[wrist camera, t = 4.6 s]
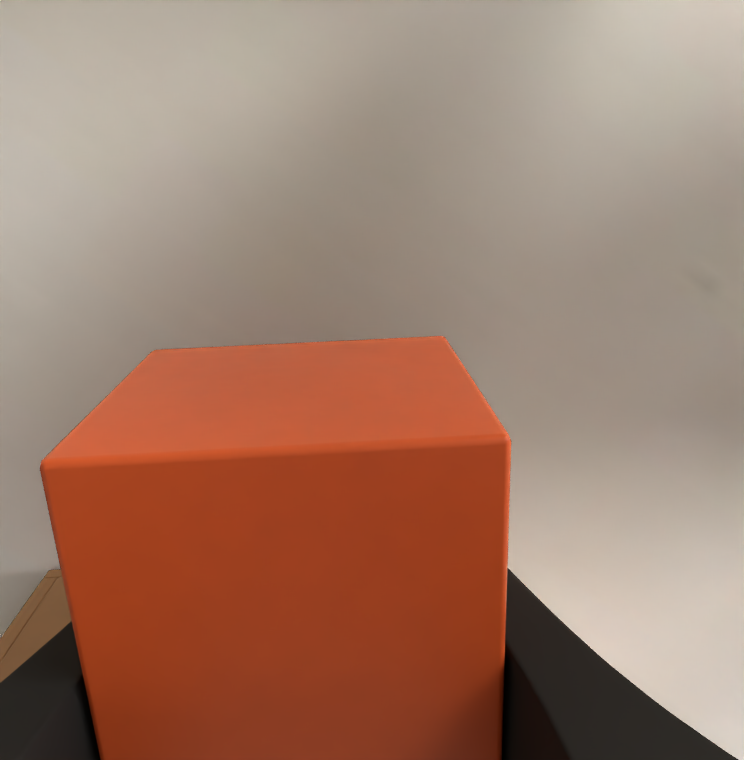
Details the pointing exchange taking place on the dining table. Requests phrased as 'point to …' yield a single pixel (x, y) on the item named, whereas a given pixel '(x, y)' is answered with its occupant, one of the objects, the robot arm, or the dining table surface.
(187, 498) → the block
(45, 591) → the box
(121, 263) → the dining table surface
